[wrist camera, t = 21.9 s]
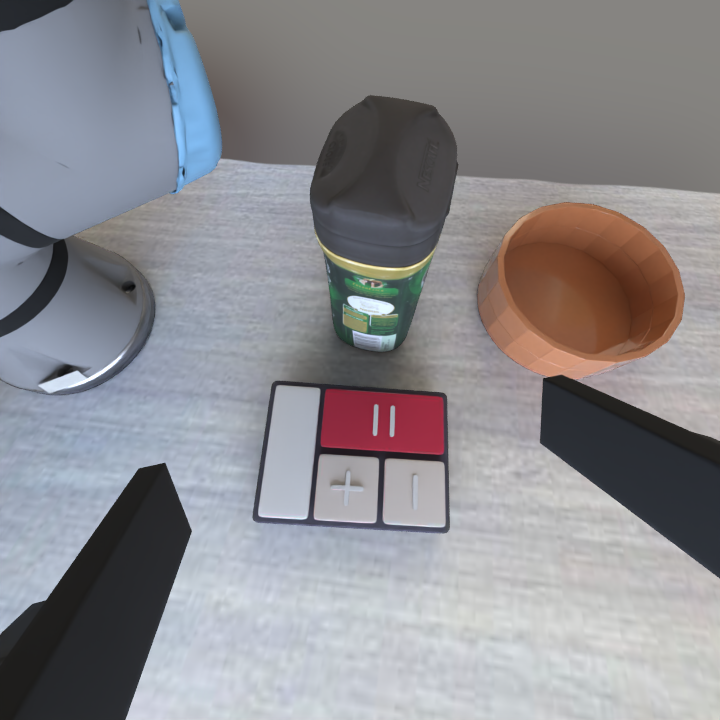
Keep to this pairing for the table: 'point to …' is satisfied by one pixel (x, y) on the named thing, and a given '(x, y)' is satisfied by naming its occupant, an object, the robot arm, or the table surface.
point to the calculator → (354, 458)
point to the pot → (579, 291)
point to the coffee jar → (381, 214)
